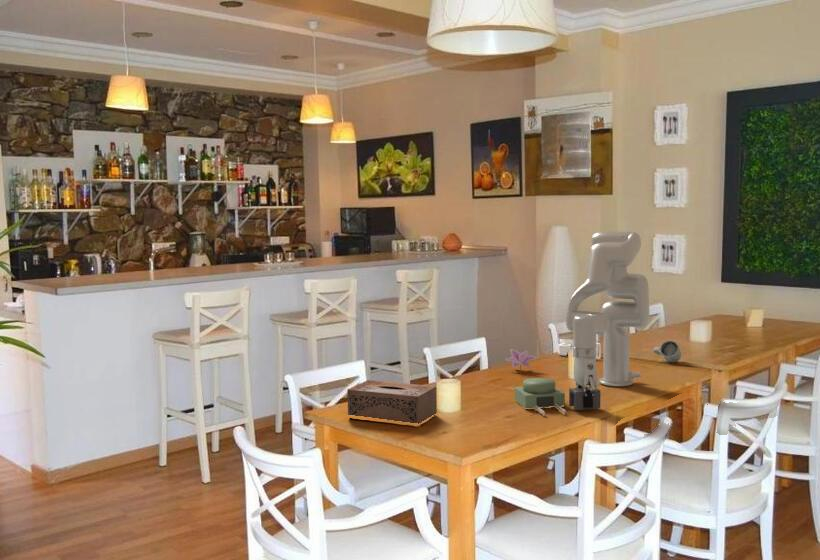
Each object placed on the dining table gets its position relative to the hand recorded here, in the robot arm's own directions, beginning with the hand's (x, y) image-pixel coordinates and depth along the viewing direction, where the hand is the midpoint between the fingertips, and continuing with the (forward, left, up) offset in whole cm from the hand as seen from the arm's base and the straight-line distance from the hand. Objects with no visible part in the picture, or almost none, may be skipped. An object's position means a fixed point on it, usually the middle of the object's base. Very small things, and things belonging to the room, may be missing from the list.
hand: (584, 404), depth 255 cm
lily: (+3, -59, -3) cm, 59 cm away
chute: (0, 0, -1) cm, 1 cm away
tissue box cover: (+64, -8, -2) cm, 65 cm away
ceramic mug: (-63, -62, -2) cm, 88 cm away
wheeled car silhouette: (-30, -81, -2) cm, 87 cm away
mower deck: (+12, -11, -2) cm, 16 cm away
